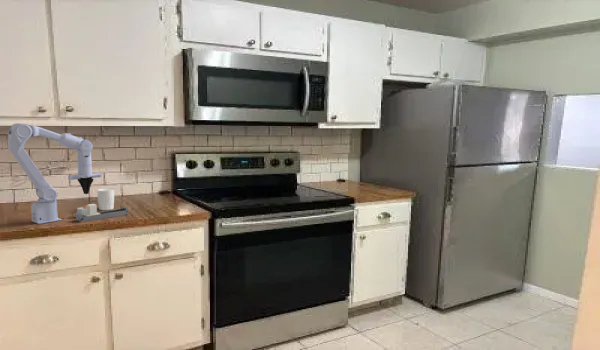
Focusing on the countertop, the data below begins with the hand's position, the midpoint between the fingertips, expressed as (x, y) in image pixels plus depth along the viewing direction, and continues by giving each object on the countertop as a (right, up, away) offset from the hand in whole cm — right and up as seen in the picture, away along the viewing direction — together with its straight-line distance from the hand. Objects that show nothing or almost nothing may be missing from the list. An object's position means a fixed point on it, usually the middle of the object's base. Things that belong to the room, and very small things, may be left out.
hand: (86, 193), depth 190 cm
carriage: (+6, -10, -6) cm, 13 cm away
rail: (+9, -11, -2) cm, 14 cm away
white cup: (+2, -9, +16) cm, 18 cm away
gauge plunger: (0, -10, 0) cm, 10 cm away
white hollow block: (0, -11, 0) cm, 11 cm away
